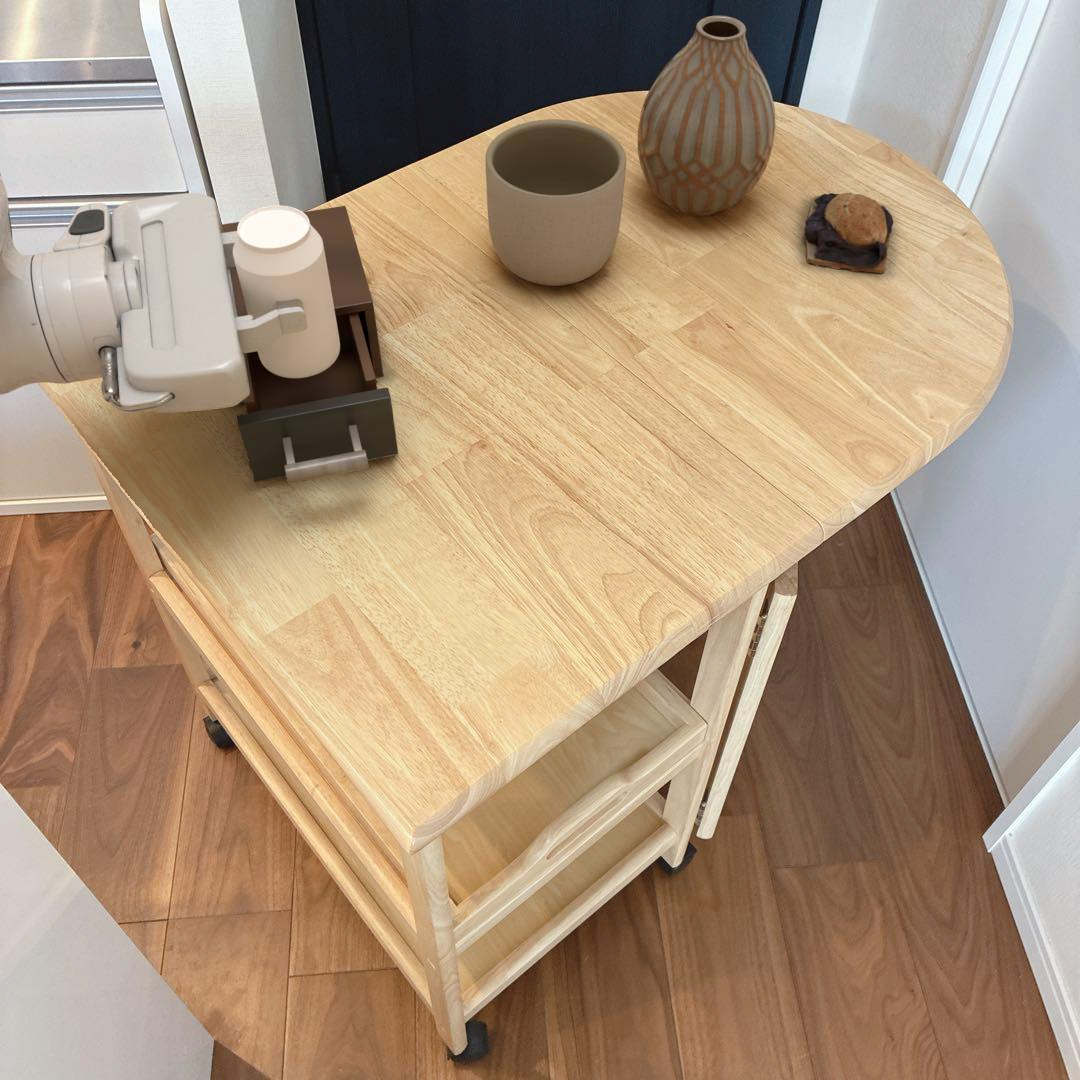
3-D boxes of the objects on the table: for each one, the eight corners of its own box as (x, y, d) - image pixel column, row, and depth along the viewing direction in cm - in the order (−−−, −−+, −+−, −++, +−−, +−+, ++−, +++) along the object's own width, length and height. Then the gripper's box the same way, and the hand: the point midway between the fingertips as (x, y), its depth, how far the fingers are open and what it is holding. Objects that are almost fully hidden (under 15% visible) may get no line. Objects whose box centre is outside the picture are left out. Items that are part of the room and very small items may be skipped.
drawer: (409, 493, 82) (401, 436, 77) (260, 523, 80) (243, 467, 75) (370, 352, 92) (362, 294, 87) (238, 375, 90) (221, 317, 85)
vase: (625, 162, 112) (640, -7, 98) (748, 159, 112) (779, -9, 99) (639, 238, 104) (657, 65, 90) (771, 234, 104) (809, 62, 91)
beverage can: (308, 320, 84) (281, 188, 75) (358, 358, 82) (338, 226, 72) (244, 358, 81) (208, 225, 72) (294, 398, 79) (264, 266, 69)
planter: (642, 276, 100) (653, 174, 91) (526, 316, 96) (526, 213, 88) (577, 207, 107) (582, 105, 98) (466, 242, 103) (461, 139, 94)
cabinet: (383, 376, 91) (373, 301, 85) (235, 403, 89) (213, 328, 83) (356, 279, 99) (345, 205, 93) (220, 302, 97) (199, 227, 91)
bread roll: (807, 201, 108) (814, 168, 105) (891, 212, 107) (901, 180, 104) (799, 263, 102) (807, 231, 99) (888, 276, 100) (899, 243, 98)
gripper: (87, 379, 65) (312, 340, 67) (80, 190, 77) (271, 164, 79) (117, 449, 70) (326, 411, 72) (107, 262, 82) (286, 234, 84)
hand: (297, 280), depth 76 cm, fingers closed on beverage can, 6 cm apart
